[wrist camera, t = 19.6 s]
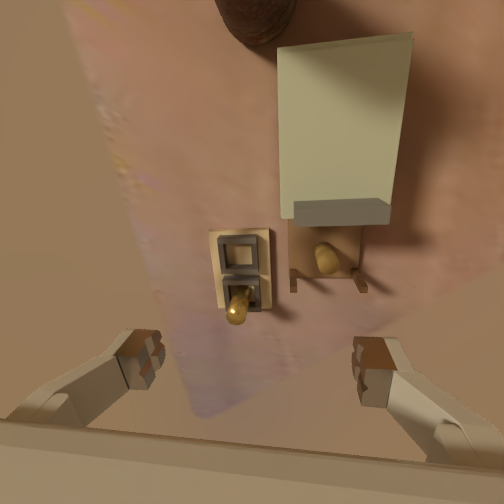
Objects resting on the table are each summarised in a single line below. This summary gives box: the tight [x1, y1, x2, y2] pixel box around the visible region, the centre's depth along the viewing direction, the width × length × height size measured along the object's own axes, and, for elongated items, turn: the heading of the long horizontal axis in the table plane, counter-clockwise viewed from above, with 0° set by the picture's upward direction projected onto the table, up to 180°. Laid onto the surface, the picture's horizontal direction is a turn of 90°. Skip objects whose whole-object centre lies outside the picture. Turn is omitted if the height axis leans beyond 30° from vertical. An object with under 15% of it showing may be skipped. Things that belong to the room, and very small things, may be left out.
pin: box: [226, 285, 252, 325], centre depth 34 cm, size 2×2×6 cm
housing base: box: [288, 219, 368, 293], centre depth 31 cm, size 9×14×6 cm, turn 4°
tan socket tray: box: [208, 228, 272, 312], centre depth 36 cm, size 8×12×2 cm, turn 4°
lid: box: [277, 32, 414, 227], centre depth 24 cm, size 11×15×9 cm
